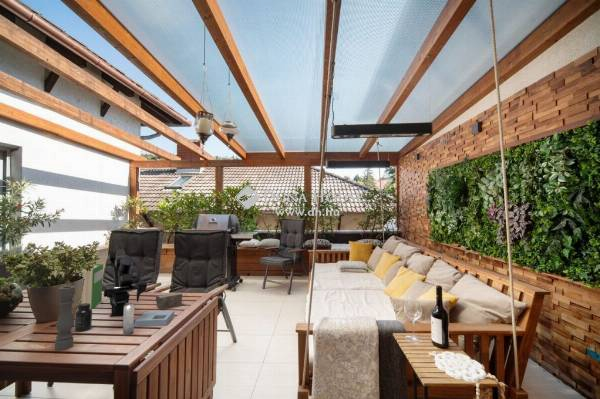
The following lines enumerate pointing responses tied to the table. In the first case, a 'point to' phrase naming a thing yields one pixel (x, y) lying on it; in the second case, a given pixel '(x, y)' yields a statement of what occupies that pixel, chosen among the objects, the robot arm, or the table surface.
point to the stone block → (169, 300)
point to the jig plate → (154, 318)
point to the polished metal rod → (128, 319)
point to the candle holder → (65, 319)
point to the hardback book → (92, 286)
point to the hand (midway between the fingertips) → (127, 303)
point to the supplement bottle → (83, 317)
